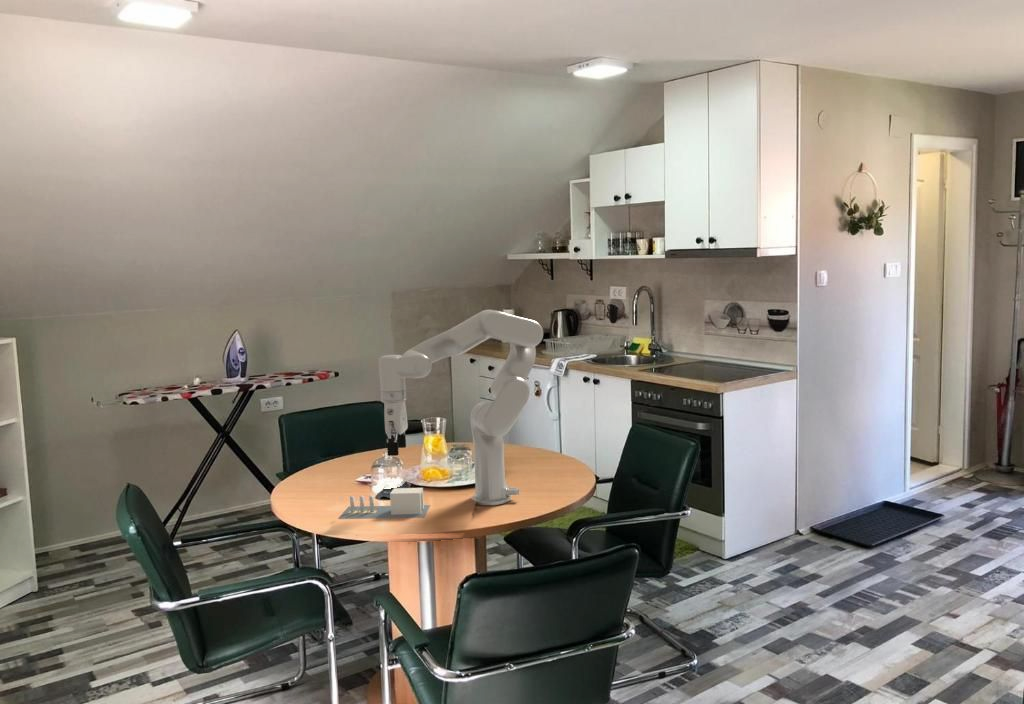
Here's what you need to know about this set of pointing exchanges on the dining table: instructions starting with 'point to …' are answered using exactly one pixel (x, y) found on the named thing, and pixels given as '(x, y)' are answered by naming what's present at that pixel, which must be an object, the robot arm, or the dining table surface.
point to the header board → (375, 511)
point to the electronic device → (387, 491)
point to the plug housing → (406, 501)
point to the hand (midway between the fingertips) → (397, 451)
